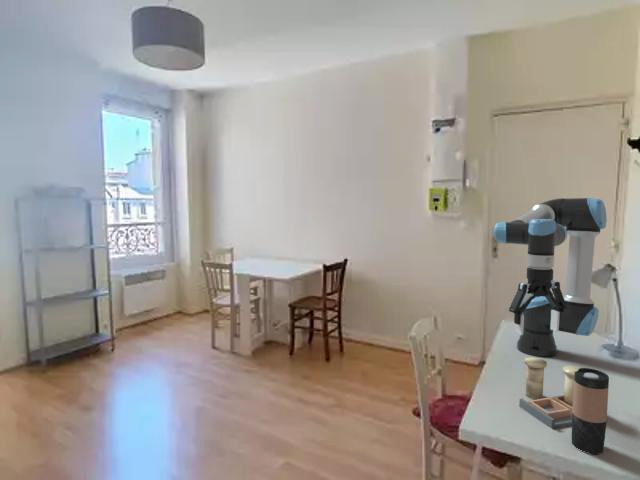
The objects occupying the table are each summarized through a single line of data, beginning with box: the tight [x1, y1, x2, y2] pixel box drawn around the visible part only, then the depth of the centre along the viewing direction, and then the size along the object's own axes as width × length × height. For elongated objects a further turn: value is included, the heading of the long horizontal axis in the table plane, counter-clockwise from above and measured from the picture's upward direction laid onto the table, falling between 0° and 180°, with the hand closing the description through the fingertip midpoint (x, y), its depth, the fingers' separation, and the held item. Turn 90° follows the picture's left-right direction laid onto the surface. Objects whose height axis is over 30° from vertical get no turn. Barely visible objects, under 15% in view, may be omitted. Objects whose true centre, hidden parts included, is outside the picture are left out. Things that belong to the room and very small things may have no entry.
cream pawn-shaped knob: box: [524, 357, 548, 400], centre depth 138 cm, size 6×6×12 cm
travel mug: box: [571, 367, 610, 455], centre depth 110 cm, size 8×8×20 cm
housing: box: [518, 365, 581, 429], centre depth 127 cm, size 13×19×13 cm
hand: (537, 332), depth 136 cm, fingers open, 13 cm apart
